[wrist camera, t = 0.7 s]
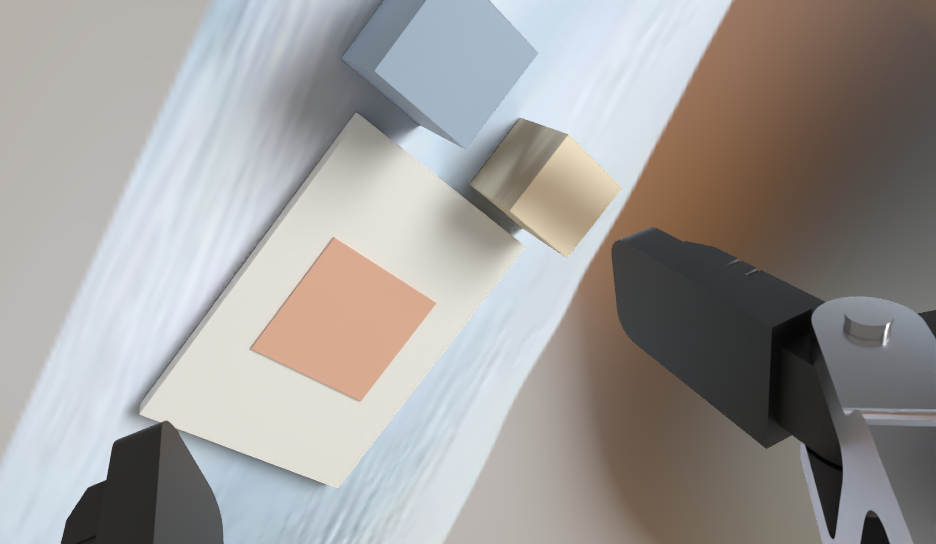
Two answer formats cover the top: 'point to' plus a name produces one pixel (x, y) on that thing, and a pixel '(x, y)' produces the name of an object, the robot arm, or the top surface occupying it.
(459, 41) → the slate block
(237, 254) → the top surface
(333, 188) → the board
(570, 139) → the maple block
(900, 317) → the robot arm
